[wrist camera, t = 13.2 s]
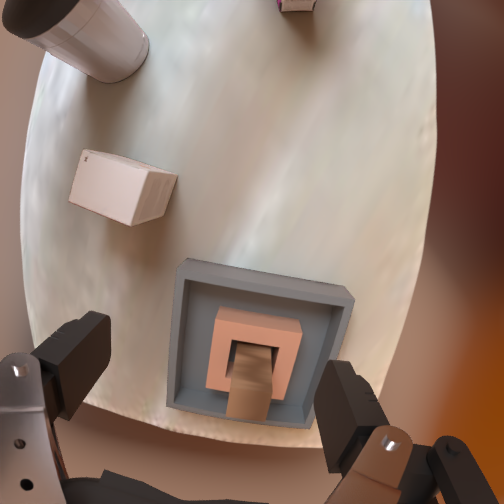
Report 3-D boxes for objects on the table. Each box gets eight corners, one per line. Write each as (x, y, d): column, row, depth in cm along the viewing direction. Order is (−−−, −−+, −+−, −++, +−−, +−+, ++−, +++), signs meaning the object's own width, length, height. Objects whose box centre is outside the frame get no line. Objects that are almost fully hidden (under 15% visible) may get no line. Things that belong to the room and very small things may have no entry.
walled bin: (174, 386, 42) (166, 406, 37) (187, 258, 38) (176, 268, 33) (306, 407, 42) (309, 429, 37) (344, 286, 38) (355, 299, 33)
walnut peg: (234, 357, 39) (225, 416, 28) (239, 331, 39) (230, 387, 27) (264, 362, 39) (265, 421, 28) (270, 336, 39) (272, 392, 27)
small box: (111, 196, 37) (65, 201, 26) (124, 155, 35) (81, 147, 25) (164, 217, 37) (130, 229, 27) (179, 174, 36) (149, 170, 26)
